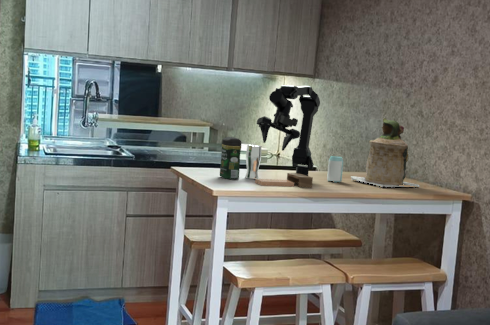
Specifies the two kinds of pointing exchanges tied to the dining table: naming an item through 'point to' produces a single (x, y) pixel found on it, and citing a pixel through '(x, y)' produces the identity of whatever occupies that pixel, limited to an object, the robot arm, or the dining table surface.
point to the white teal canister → (335, 169)
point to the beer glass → (253, 161)
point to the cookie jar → (387, 158)
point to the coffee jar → (230, 158)
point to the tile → (274, 182)
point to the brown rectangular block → (300, 179)
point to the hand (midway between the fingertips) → (273, 146)
